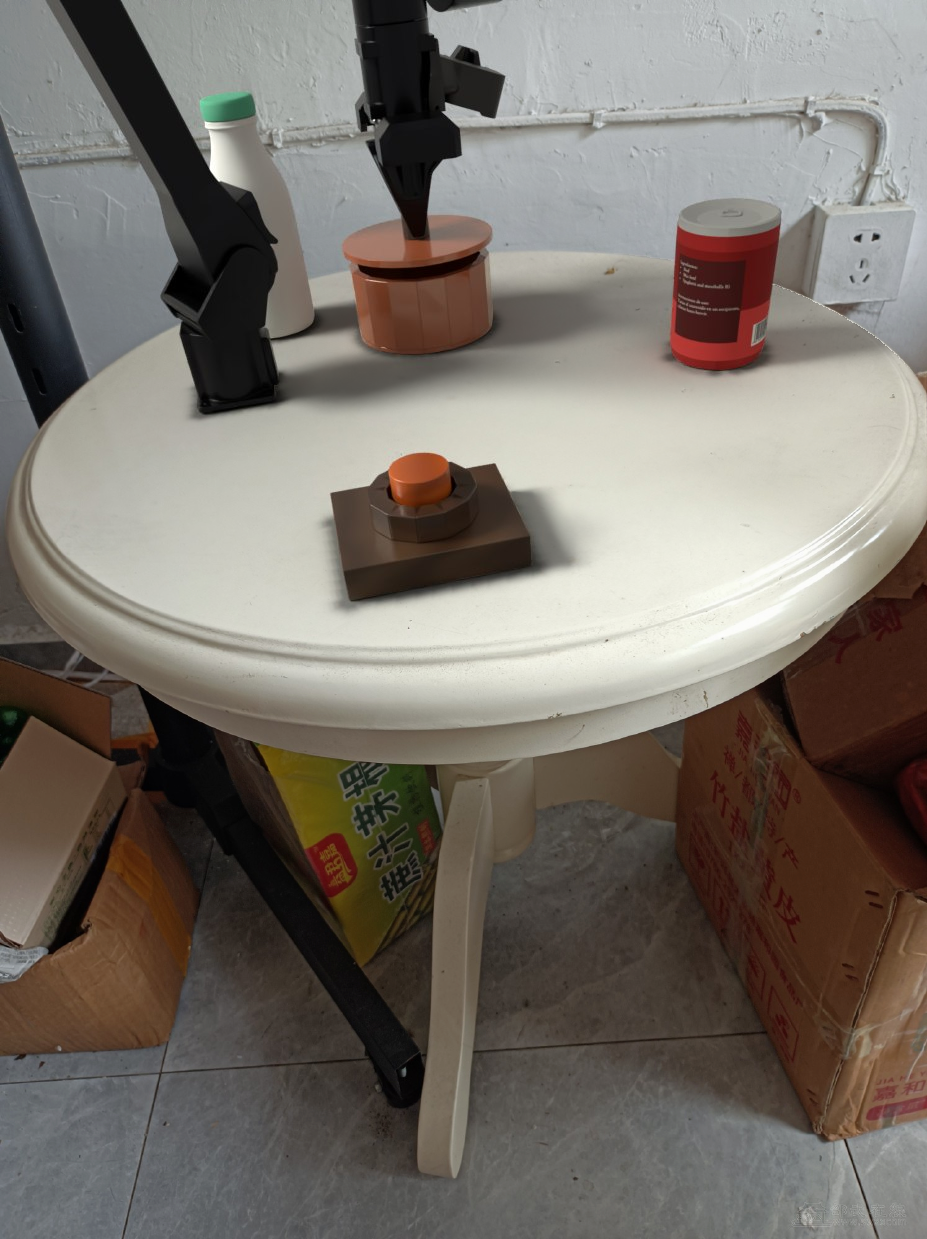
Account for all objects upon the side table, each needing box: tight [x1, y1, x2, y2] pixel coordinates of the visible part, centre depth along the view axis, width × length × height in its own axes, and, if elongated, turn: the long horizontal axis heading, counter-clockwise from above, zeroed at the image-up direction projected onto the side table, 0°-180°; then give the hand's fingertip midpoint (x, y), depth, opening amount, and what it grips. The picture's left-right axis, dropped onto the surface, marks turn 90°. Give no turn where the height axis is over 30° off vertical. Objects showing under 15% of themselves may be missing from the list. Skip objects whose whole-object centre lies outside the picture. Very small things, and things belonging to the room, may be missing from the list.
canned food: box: [669, 197, 782, 371], centre depth 69 cm, size 8×8×11 cm
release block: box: [329, 461, 533, 601], centre depth 53 cm, size 11×9×4 cm
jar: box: [348, 247, 494, 355], centre depth 80 cm, size 13×13×6 cm
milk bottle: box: [199, 91, 316, 339], centre depth 80 cm, size 8×8×20 cm
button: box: [387, 452, 452, 507], centre depth 51 cm, size 4×4×2 cm
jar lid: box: [341, 212, 494, 268], centre depth 76 cm, size 14×14×5 cm
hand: (416, 232), depth 77 cm, fingers closed on jar lid, 2 cm apart
